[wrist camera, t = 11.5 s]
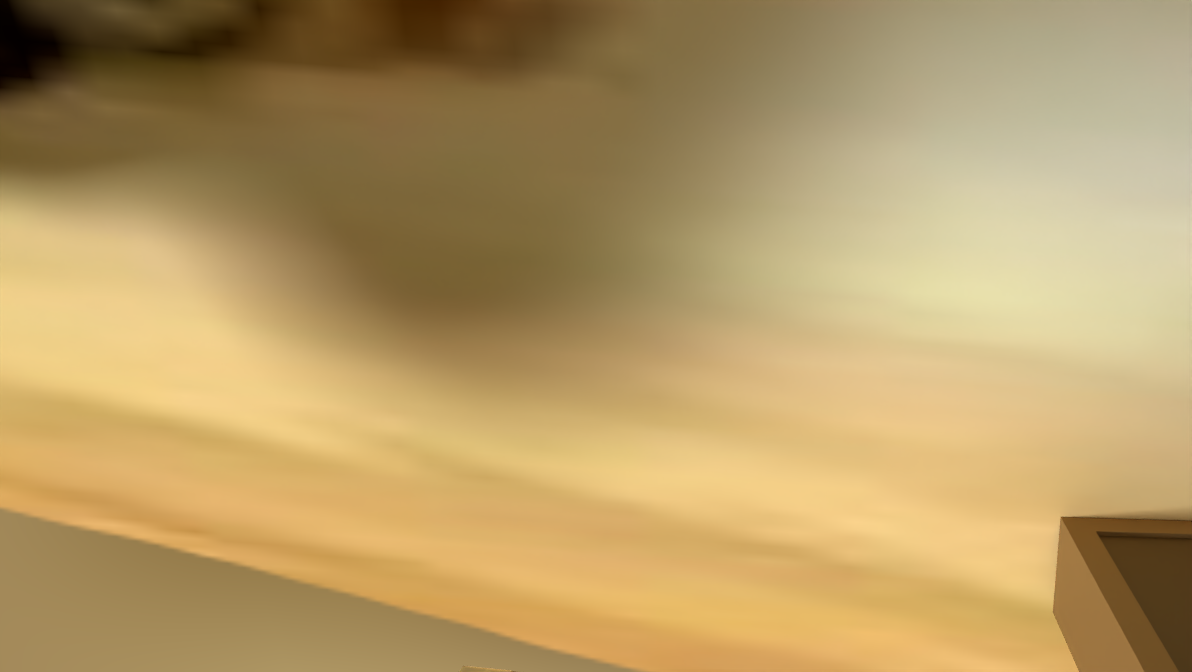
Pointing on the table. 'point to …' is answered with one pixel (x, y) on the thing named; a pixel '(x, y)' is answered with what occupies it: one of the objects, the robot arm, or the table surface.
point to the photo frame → (1125, 594)
